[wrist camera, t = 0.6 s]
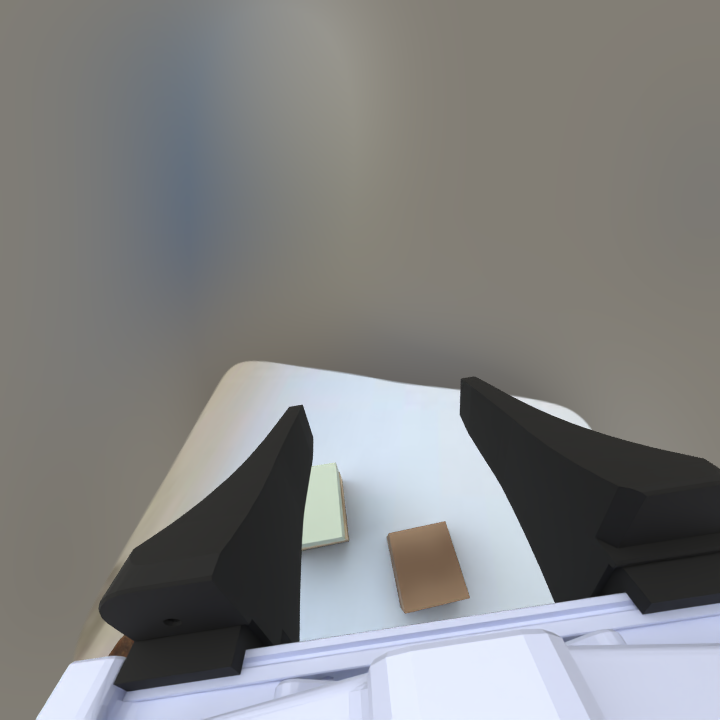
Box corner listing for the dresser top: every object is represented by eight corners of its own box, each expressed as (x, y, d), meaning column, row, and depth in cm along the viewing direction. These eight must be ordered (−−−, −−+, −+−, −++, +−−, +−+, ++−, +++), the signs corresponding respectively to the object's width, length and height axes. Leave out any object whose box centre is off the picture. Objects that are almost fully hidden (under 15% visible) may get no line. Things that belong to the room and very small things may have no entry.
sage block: (345, 540, 20) (342, 536, 18) (280, 552, 20) (268, 550, 18) (339, 472, 23) (335, 462, 21) (282, 482, 23) (272, 472, 21)
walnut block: (456, 593, 21) (470, 598, 18) (400, 607, 20) (405, 613, 17) (436, 526, 23) (445, 521, 20) (386, 537, 23) (388, 533, 20)
